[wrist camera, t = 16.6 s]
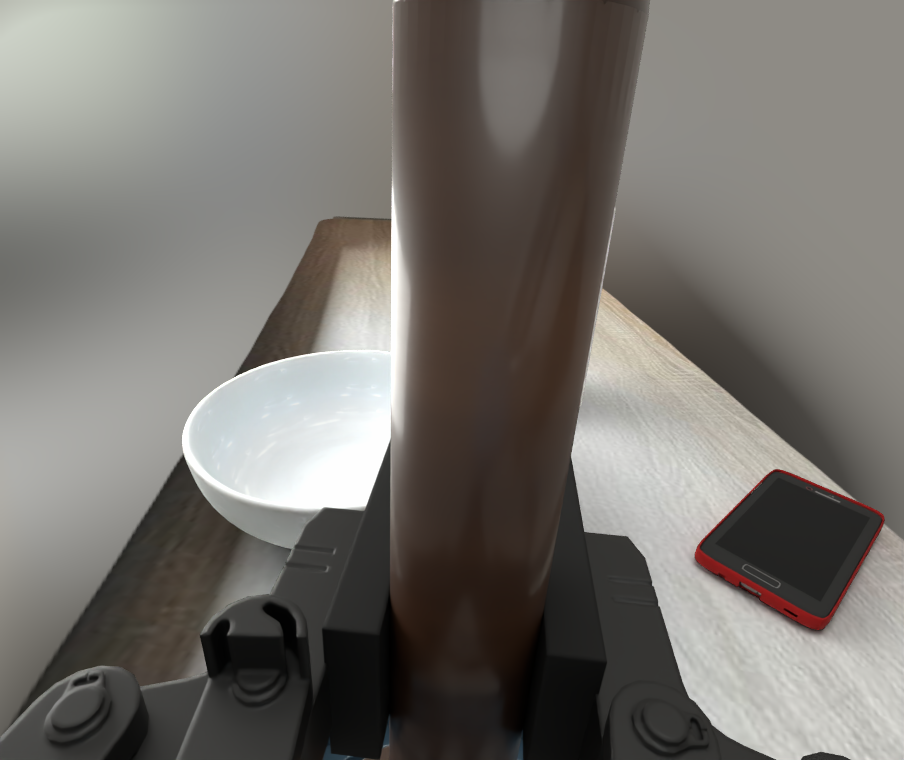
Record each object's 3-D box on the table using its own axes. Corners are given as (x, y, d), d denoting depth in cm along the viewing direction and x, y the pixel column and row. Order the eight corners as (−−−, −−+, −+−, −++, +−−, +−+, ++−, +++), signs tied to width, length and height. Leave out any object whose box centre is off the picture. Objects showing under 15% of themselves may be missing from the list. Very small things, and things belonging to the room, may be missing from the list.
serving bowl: (251, 415, 50) (242, 344, 47) (484, 423, 51) (490, 353, 48) (138, 600, 31) (111, 501, 28) (509, 607, 32) (521, 513, 29)
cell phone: (688, 560, 36) (691, 549, 35) (771, 475, 45) (775, 465, 45) (820, 639, 31) (826, 626, 30) (884, 524, 40) (889, 514, 40)
